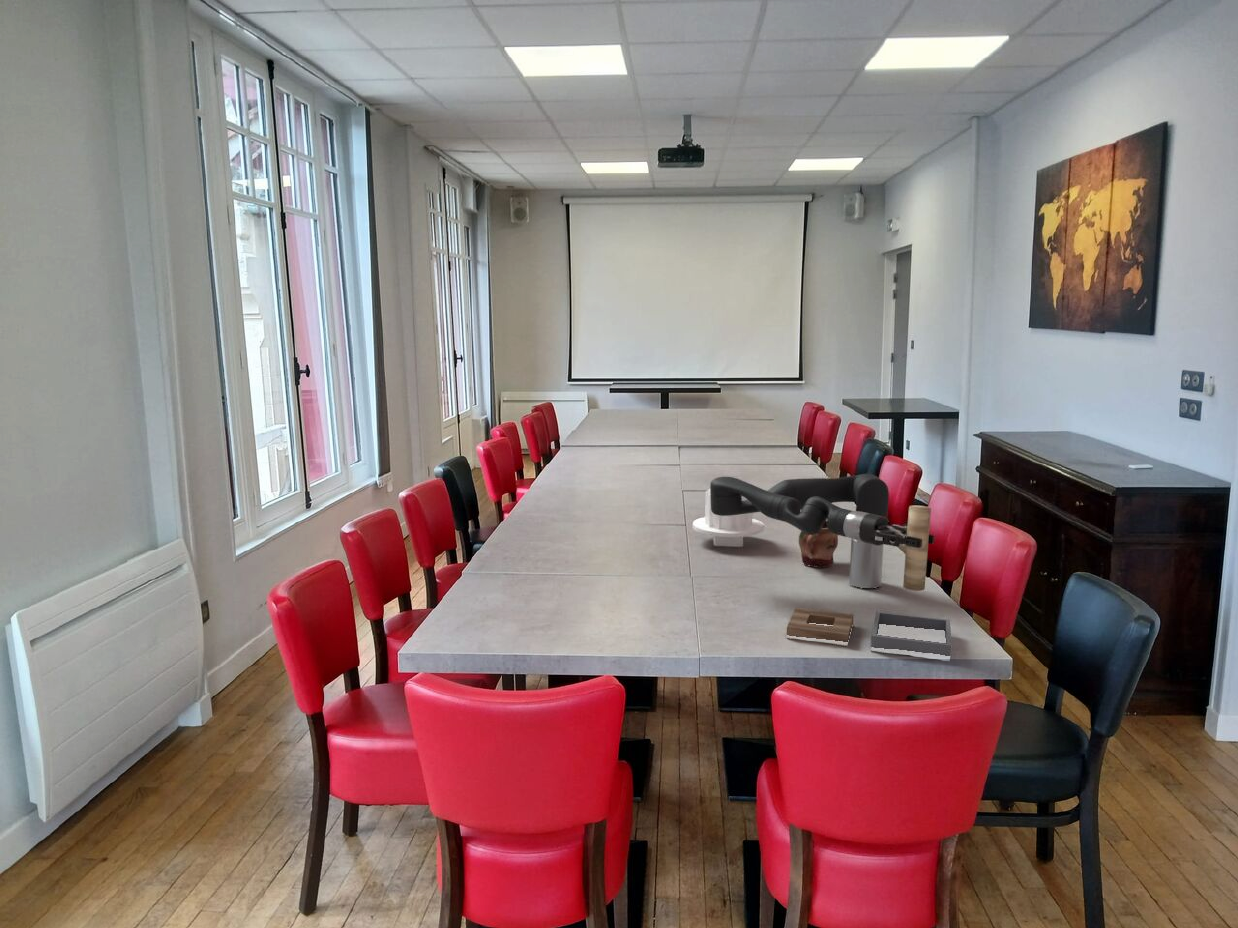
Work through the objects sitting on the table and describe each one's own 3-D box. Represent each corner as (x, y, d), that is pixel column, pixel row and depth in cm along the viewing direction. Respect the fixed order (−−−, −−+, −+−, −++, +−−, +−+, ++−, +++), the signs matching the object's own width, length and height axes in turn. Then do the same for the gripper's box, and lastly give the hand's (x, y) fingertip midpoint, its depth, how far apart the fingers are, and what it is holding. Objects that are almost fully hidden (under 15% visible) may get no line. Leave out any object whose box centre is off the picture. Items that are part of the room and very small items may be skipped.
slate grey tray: (875, 625, 224) (876, 611, 223) (949, 634, 218) (950, 619, 217) (870, 651, 207) (871, 635, 206) (950, 661, 201) (951, 645, 200)
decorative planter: (829, 576, 265) (831, 533, 262) (790, 571, 270) (792, 528, 267) (842, 559, 282) (844, 518, 280) (805, 555, 288) (807, 514, 285)
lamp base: (761, 534, 314) (763, 484, 310) (766, 553, 289) (767, 499, 286) (692, 532, 316) (693, 482, 313) (691, 551, 292) (692, 497, 288)
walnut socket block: (795, 618, 229) (795, 607, 229) (853, 625, 224) (853, 614, 224) (786, 638, 215) (786, 626, 215) (847, 646, 210) (848, 634, 210)
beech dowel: (903, 583, 213) (909, 504, 209) (924, 585, 211) (931, 506, 208) (902, 589, 208) (908, 509, 205) (924, 591, 207) (930, 511, 203)
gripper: (881, 537, 224) (941, 551, 211) (848, 546, 214) (910, 562, 202) (883, 509, 222) (944, 521, 209) (850, 517, 213) (912, 531, 200)
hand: (927, 541), depth 206 cm, fingers closed on beech dowel, 5 cm apart
